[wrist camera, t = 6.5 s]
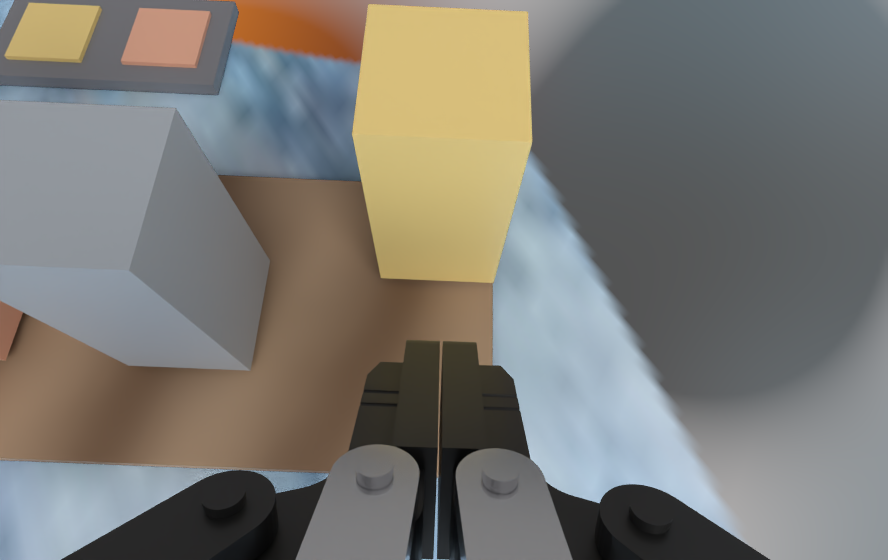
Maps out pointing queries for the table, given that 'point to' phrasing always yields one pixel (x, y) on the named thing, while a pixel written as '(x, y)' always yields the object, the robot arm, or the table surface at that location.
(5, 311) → the salmon pink block
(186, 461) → the keypad base
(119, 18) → the card
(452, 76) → the yellow tall block
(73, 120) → the grey rectangular block
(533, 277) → the table surface
